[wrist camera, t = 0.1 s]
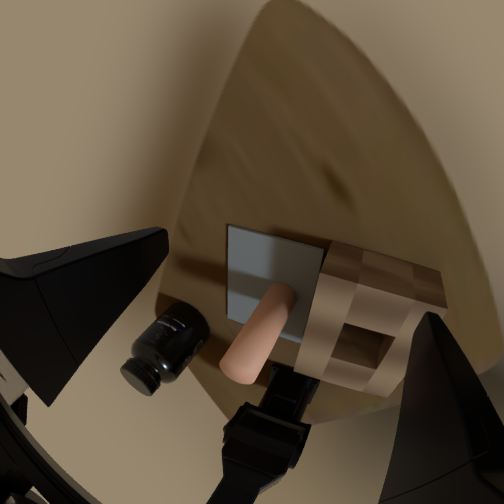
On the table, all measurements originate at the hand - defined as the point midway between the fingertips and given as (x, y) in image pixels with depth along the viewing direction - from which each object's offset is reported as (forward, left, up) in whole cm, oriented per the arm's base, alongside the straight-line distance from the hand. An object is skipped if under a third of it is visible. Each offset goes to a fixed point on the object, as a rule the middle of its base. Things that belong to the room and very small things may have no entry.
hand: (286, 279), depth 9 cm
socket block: (-12, -5, -15) cm, 20 cm away
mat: (-13, +5, -15) cm, 20 cm away
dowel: (-13, +3, -14) cm, 20 cm away
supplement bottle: (-23, +15, -15) cm, 31 cm away
